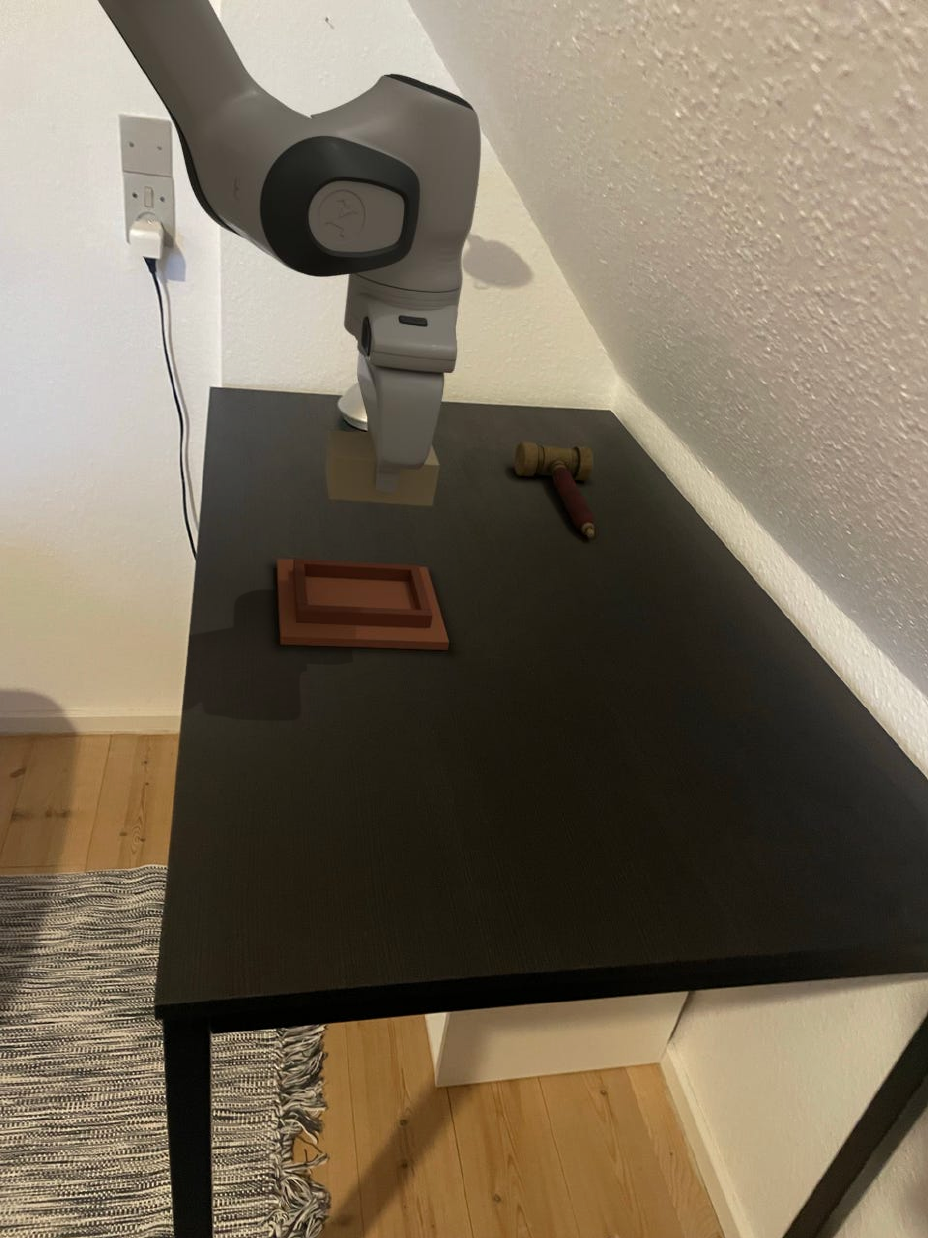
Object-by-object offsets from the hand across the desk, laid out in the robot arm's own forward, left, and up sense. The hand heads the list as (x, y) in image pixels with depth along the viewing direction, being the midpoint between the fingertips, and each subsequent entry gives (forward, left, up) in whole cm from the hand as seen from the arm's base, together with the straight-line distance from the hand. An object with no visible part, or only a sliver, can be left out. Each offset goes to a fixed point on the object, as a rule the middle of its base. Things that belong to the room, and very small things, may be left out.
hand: (379, 470), depth 82 cm
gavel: (+30, +31, -17) cm, 47 cm away
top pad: (0, 0, -2) cm, 2 cm away
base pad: (0, +4, -17) cm, 18 cm away
